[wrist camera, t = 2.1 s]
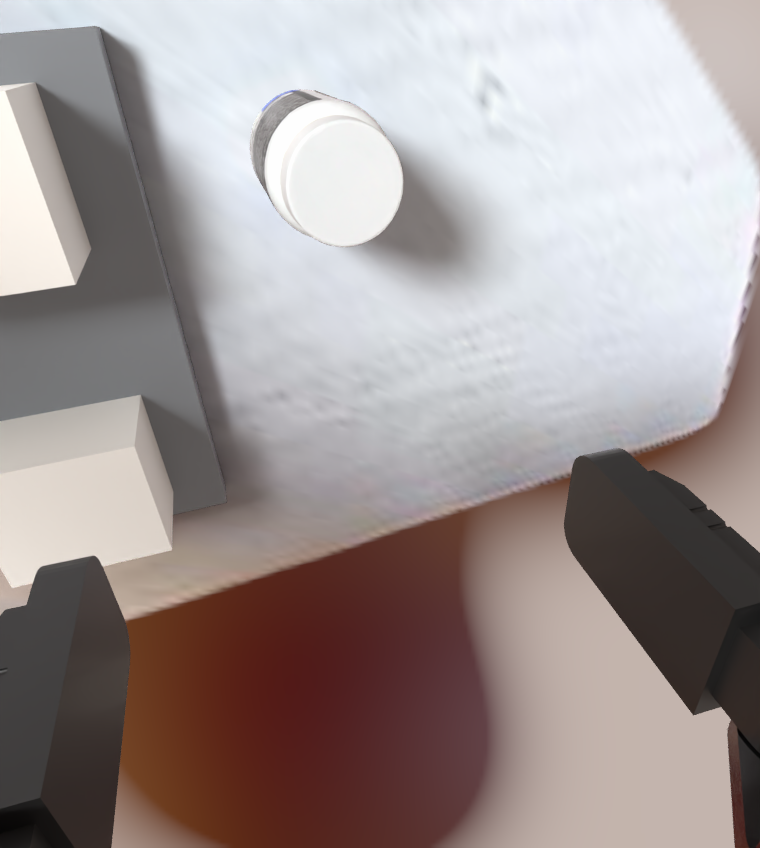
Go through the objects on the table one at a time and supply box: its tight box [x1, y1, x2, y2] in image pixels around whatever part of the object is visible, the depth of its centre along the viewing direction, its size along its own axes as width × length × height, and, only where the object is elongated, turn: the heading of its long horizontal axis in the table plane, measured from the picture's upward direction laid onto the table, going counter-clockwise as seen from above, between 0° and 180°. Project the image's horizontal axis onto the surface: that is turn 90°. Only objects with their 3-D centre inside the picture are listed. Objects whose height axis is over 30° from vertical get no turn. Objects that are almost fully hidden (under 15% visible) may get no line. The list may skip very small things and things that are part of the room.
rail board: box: [0, 26, 227, 588], centre depth 25 cm, size 22×12×6 cm, turn 4°
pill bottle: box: [250, 89, 403, 247], centre depth 23 cm, size 5×5×8 cm
